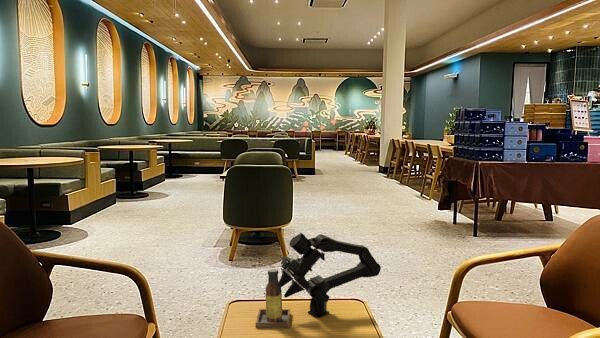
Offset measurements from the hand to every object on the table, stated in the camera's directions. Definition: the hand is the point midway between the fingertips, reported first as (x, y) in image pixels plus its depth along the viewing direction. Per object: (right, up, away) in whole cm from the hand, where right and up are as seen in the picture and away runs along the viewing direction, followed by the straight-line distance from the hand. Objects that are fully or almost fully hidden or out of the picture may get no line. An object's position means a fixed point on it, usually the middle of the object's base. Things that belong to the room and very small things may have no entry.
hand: (280, 292), depth 176 cm
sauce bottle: (-3, -11, 0) cm, 11 cm away
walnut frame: (-3, -11, 0) cm, 11 cm away
